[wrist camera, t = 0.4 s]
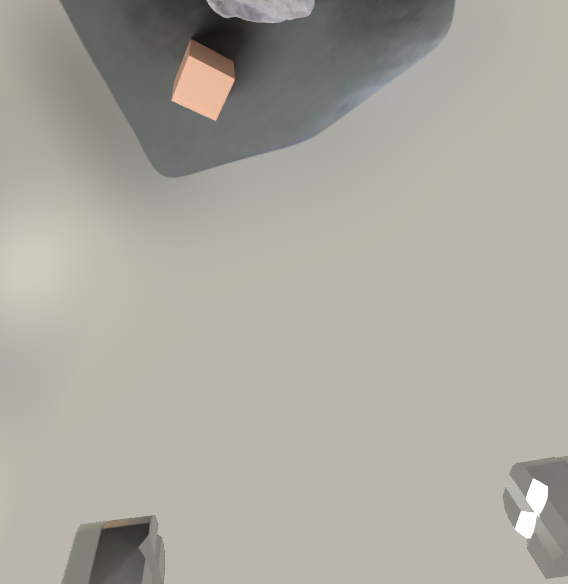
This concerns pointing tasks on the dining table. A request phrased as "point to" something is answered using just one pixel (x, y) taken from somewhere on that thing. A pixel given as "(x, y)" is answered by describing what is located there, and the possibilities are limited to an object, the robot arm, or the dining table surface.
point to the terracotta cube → (203, 80)
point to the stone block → (263, 9)
